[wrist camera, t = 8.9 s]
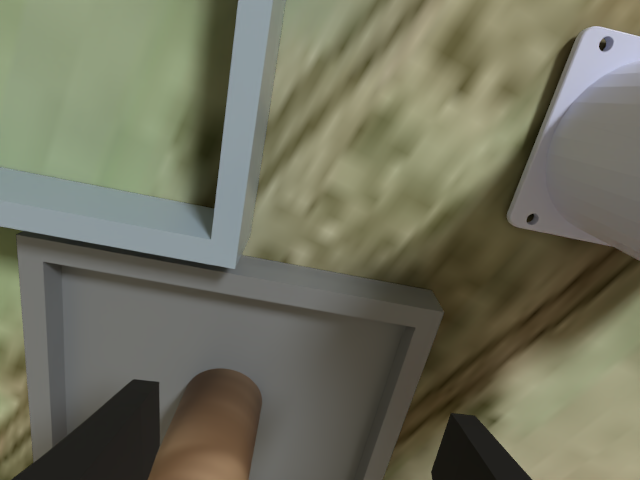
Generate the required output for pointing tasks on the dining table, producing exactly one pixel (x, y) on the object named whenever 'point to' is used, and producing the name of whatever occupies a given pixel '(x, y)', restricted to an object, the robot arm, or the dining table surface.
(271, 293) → the grey tray
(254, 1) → the frame
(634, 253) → the robot arm
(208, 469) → the walnut dowel
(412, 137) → the dining table surface
